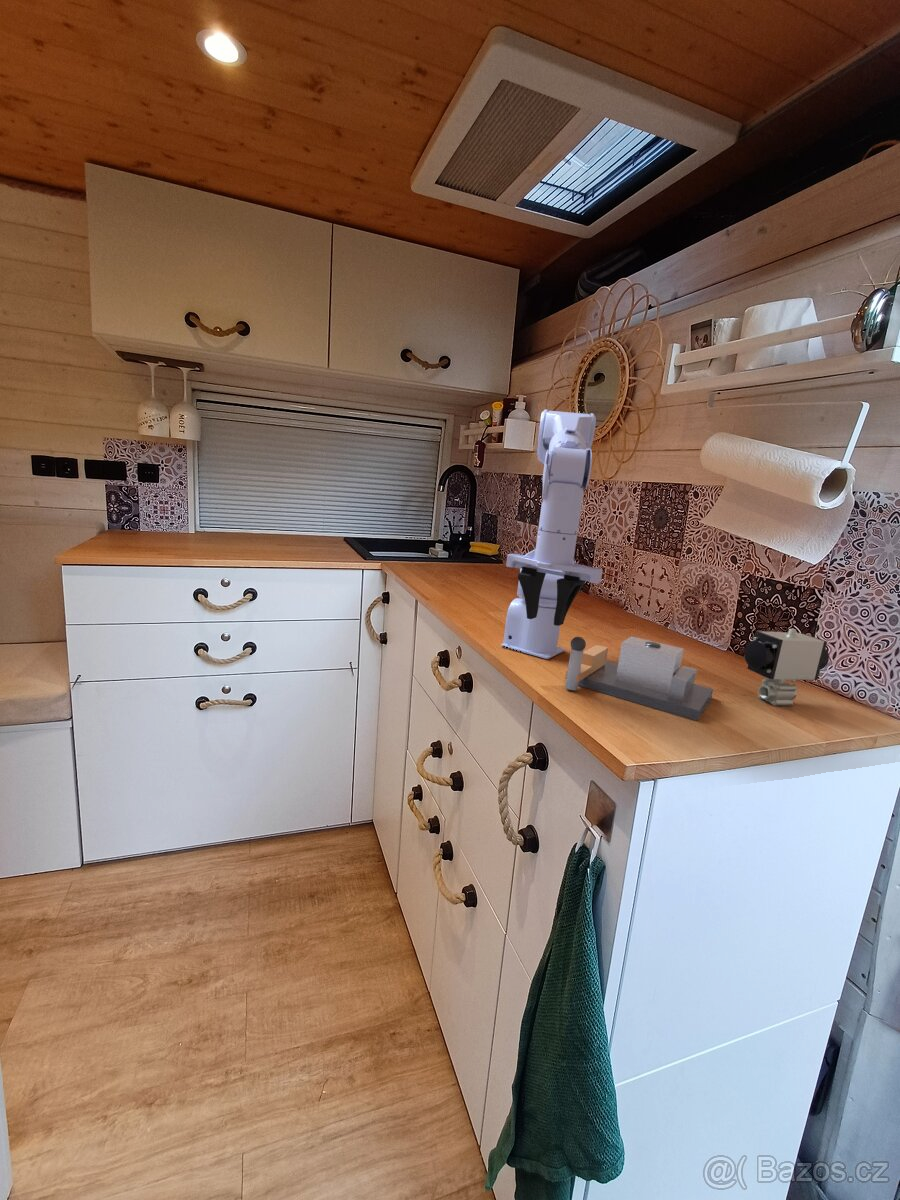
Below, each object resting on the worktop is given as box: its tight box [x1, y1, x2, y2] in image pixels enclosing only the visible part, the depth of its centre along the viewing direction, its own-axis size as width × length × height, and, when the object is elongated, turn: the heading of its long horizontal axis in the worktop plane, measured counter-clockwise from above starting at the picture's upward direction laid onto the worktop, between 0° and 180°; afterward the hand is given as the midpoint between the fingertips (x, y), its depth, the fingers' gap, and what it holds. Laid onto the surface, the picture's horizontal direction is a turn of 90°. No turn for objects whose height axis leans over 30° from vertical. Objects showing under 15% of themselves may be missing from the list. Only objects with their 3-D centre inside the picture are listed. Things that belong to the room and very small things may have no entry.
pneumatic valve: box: [744, 628, 830, 707], centre depth 87 cm, size 6×12×12 cm, turn 104°
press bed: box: [578, 660, 714, 722], centre depth 86 cm, size 19×12×4 cm, turn 56°
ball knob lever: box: [564, 636, 609, 691], centre depth 87 cm, size 2×13×8 cm, turn 146°
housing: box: [616, 636, 685, 694], centre depth 85 cm, size 8×5×6 cm, turn 56°
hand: (544, 621), depth 85 cm, fingers open, 4 cm apart
